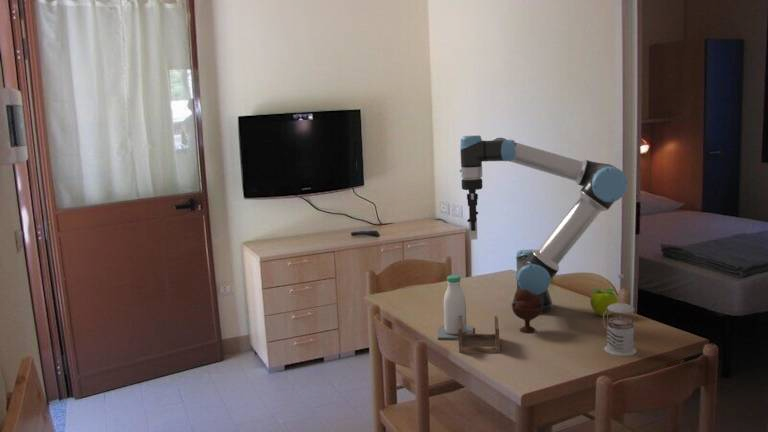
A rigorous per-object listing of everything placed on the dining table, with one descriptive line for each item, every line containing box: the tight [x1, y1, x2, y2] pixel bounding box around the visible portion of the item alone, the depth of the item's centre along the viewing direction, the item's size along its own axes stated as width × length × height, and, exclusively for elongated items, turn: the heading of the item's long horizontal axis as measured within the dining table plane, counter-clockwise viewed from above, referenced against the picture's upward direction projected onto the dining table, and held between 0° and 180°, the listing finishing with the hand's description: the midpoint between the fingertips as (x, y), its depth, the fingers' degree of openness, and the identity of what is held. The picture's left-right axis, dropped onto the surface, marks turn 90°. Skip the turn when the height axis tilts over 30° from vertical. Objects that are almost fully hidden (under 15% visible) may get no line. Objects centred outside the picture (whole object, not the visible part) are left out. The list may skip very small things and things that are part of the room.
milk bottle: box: [443, 274, 467, 334], centre depth 223 cm, size 8×8×20 cm
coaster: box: [437, 325, 474, 341], centre depth 224 cm, size 12×12×1 cm
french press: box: [602, 273, 637, 357], centre depth 201 cm, size 10×12×25 cm
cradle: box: [458, 315, 500, 354], centre depth 212 cm, size 13×13×8 cm
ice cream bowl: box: [510, 289, 543, 334], centre depth 222 cm, size 11×11×15 cm
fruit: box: [590, 288, 618, 317], centre depth 235 cm, size 9×9×10 cm
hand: (473, 235), depth 235 cm, fingers open, 13 cm apart
